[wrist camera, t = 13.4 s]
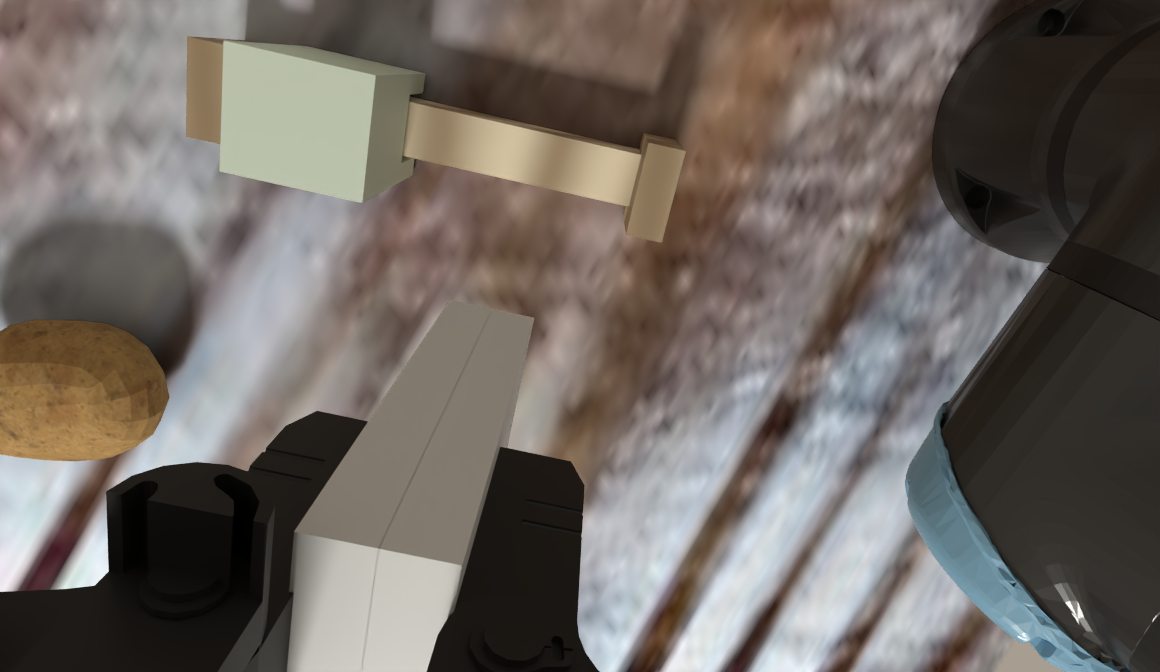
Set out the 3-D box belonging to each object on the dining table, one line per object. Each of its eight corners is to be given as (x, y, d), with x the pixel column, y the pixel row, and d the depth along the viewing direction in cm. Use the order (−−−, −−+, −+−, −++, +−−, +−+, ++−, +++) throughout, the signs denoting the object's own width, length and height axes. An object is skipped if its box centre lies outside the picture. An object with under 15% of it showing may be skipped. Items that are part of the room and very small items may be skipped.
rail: (675, 139, 42) (685, 151, 37) (654, 220, 44) (661, 242, 38) (244, 40, 41) (187, 36, 36) (241, 127, 43) (186, 136, 37)
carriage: (425, 73, 41) (375, 75, 32) (412, 175, 43) (362, 203, 34) (306, 45, 41) (223, 40, 32) (299, 149, 43) (219, 171, 34)
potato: (-21, 312, 48) (-136, 358, 41) (173, 288, 47) (91, 330, 39) (37, 437, 51) (-59, 500, 44) (219, 417, 50) (152, 479, 43)
